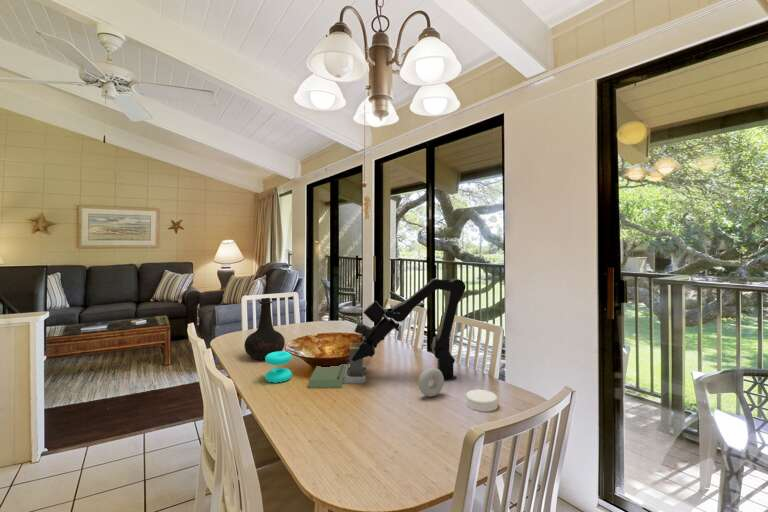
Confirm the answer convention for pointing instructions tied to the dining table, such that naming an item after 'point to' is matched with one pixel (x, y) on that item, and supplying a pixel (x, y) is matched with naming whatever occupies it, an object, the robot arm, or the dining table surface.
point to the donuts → (278, 373)
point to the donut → (424, 380)
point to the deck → (334, 377)
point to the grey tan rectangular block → (357, 365)
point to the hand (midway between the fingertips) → (353, 358)
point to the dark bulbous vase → (264, 335)
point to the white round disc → (481, 400)
